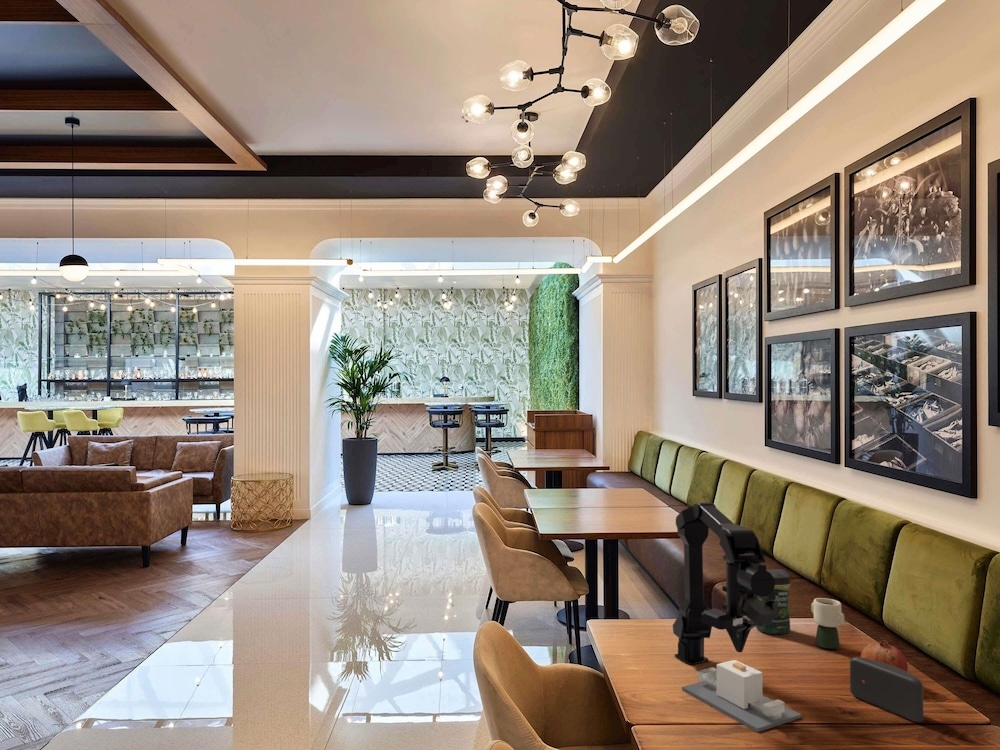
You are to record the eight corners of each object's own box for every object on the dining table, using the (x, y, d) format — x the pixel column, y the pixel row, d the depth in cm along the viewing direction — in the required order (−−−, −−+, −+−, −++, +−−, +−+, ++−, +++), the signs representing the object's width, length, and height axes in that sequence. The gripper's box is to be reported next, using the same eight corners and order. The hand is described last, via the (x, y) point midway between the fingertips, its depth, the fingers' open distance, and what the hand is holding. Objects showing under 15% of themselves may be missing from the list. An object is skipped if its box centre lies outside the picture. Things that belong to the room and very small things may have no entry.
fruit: (917, 691, 156) (916, 650, 157) (874, 690, 157) (874, 648, 157) (892, 673, 167) (892, 634, 167) (853, 671, 167) (853, 633, 168)
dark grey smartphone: (931, 721, 142) (931, 678, 142) (920, 726, 139) (920, 682, 140) (859, 692, 156) (859, 652, 156) (848, 696, 153) (848, 655, 154)
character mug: (853, 652, 180) (853, 606, 181) (834, 656, 178) (834, 608, 178) (821, 639, 190) (821, 594, 191) (802, 641, 188) (802, 597, 188)
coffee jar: (768, 636, 192) (768, 573, 192) (751, 627, 199) (751, 567, 200) (795, 634, 194) (795, 572, 195) (777, 625, 202) (777, 565, 202)
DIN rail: (712, 680, 159) (712, 666, 159) (785, 717, 140) (785, 702, 141) (697, 683, 157) (697, 670, 157) (769, 722, 138) (769, 707, 138)
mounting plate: (723, 679, 161) (723, 675, 161) (800, 717, 142) (800, 714, 142) (682, 690, 155) (682, 686, 155) (757, 732, 135) (757, 728, 135)
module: (734, 689, 153) (734, 656, 154) (762, 703, 146) (762, 668, 147) (716, 694, 151) (716, 660, 151) (743, 709, 144) (744, 673, 144)
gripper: (738, 598, 138) (738, 672, 137) (796, 588, 147) (796, 657, 146) (700, 585, 148) (699, 654, 147) (756, 576, 157) (756, 641, 156)
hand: (739, 651), depth 149 cm, fingers closed
